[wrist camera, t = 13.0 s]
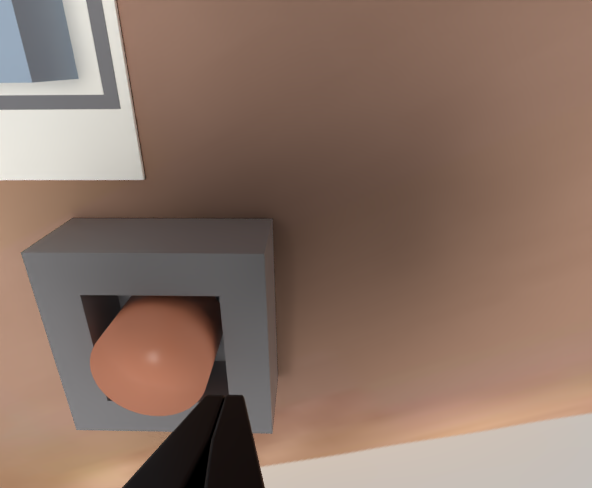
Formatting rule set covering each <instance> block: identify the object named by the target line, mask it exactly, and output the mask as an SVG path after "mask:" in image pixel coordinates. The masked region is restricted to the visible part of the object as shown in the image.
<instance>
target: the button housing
mask: <svg viewBox="0 0 592 488" xmlns="http://www.w3.org/2000/svg"><path fill="white" fill-rule="evenodd" d="M21 254H22V258H23V261H24V264H25V267H26V270H27V274H28V277H29V280H30V283H31V286H32V289H33V293H34V296H35V299H36V302H37V305H38V309H39V312H40V315H41V318H42V321H43V324H44V328H45V331H46V334H47V337H48V340H49V343H50V347H51V350H52V353H53V356H54V359H55V363H56V366H57V369H58V372H59V375H60V378H61V382H62V385H63V388H64V391H65V394H66V398H67V401H68V404H69V407H70V410H71V413H72V417H73V420H74V423H75V426H76V429H77V430H112V431H165V432H173V431H174V430H175V429H176V428H177V426H178V425H179V424H180V423H181V422H182V421H183V420H184V419H185V418H186V417H187V415H188V414H189V413H190V412H191V411H192V410H193V409H194V408H195V407H196V405H197V404H198V403H199V402H200V401H201V400H202V399H203V398H204V397H205V396H206V395H208V394H222V395H224V396H226V395H243V396H244V398H245V403H246V407H247V411H248V416H249V420H250V425H251V429H252V433H271V434H272V433H273V423H274V412H275V402H276V392H277V382H278V363H277V333H276V304H275V275H274V246H273V219H213V218H72V219H70V220H69V221H67V222H66V223H64V224H63V225H61V226H60V227H58V228H57V229H55V230H54V231H52V232H51V233H49V234H48V235H46V236H45V237H43V238H42V239H40V240H39V241H37V242H36V243H35V244H33V245H32V246H30V247H29V248H27V249H26V250H24V251H23V252H21ZM132 295H135V296H215V297H216V298H217V300H218V301H219V303H220V309H221V319H222V329H223V335H222V338H221V342H220V345H219V348H218V351H217V354H216V357H215V361H214V364H213V367H212V370H211V373H210V376H209V380H208V383H207V386H206V389H205V392H204V394H203V396H202V397H201V398H200V400H199V401H198V402H197V403H196V404H195V405H193V406H192V407H191V408H189V409H187V410H185V411H183V412H180V413H178V414H174V415H168V416H149V415H143V414H139V413H135V412H133V411H130V410H127V409H125V408H123V407H121V406H120V405H118V404H116V403H115V402H113V401H112V400H111V399H109V398H108V397H107V396H106V395H105V394H104V393H103V392H102V391H101V390H100V388H99V387H98V385H97V384H96V382H95V380H94V378H93V376H92V373H91V369H90V356H91V352H92V349H93V347H94V345H95V343H96V342H97V341H98V339H99V338H100V337H101V335H102V334H103V333H104V331H105V330H106V329H107V327H108V326H109V325H110V323H111V322H112V321H113V319H114V318H115V317H116V315H117V314H118V313H119V311H120V310H121V309H122V307H123V306H124V305H125V304H126V302H127V301H128V300H129V298H130V297H131V296H132Z"/></svg>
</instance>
